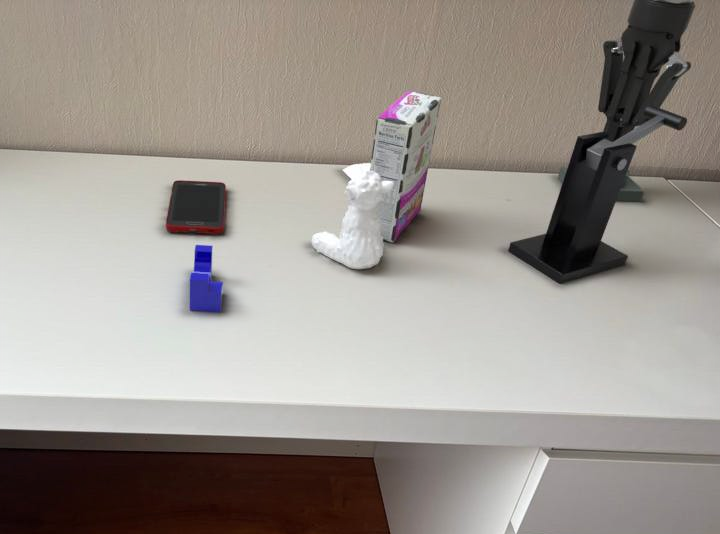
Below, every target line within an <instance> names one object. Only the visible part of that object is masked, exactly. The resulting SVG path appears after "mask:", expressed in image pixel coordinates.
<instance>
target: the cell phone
mask: <svg viewBox="0 0 720 534" xmlns="http://www.w3.org/2000/svg"><path fill="white" fill-rule="evenodd" d="M226 192H227V186H226V183H224V182H221V181H204V180H203V181H201V180H185V179H183V180H181V179H180V180H174V181H173V183H172V187H171V192H170V197H169V203H168V209H167V214H166V220H165V229H166V231H168V232H173V233H198V234H214V235H215V234H222V233H223V232H224V230H225V219H226V217H225V216H226V215H225V214H226Z"/></svg>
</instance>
